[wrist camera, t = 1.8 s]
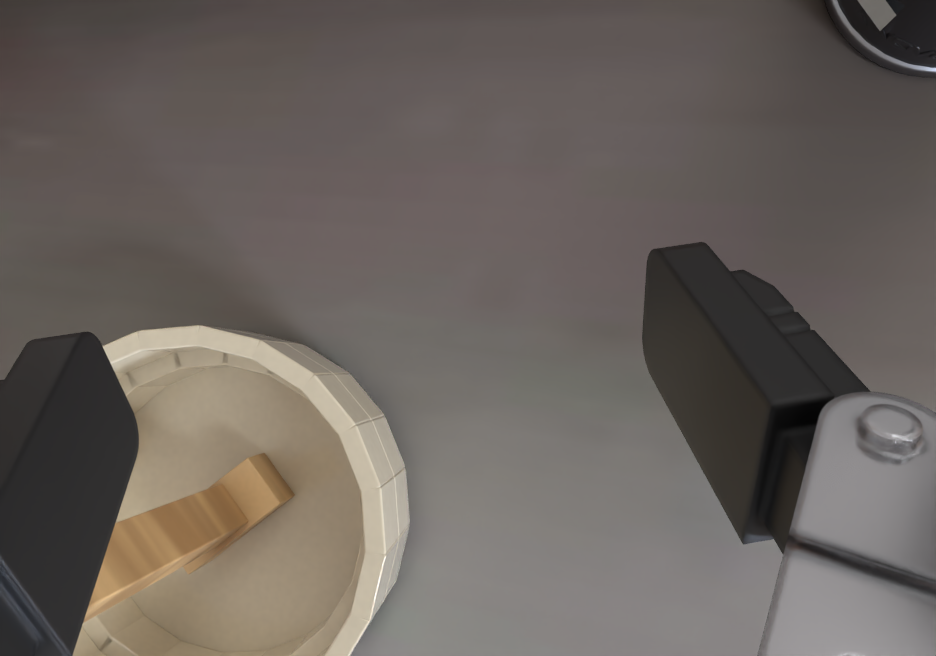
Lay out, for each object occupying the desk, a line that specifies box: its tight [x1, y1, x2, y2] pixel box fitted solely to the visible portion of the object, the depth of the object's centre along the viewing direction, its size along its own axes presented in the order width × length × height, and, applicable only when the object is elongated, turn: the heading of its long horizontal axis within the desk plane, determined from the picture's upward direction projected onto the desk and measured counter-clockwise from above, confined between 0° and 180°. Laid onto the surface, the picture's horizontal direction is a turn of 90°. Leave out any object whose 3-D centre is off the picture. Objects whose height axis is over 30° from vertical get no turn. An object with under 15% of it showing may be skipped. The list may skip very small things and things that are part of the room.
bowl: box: [72, 325, 410, 656], centre depth 30 cm, size 16×16×6 cm
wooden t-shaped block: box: [83, 453, 295, 623], centre depth 26 cm, size 5×2×14 cm, turn 128°
